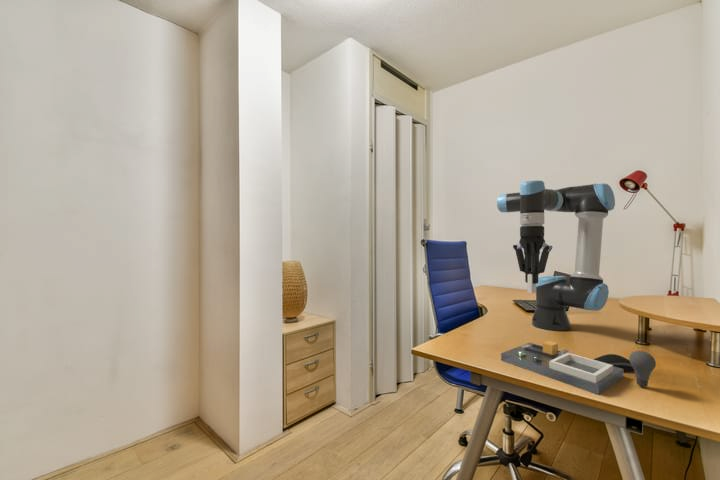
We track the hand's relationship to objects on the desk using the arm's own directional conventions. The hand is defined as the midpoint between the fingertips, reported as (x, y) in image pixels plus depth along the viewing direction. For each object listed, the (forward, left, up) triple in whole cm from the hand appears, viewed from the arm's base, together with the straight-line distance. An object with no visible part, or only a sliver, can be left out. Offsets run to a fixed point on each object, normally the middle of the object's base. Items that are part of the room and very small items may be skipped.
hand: (531, 292), depth 111 cm
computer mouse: (-11, +20, -23) cm, 32 cm away
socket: (+6, +18, -20) cm, 27 cm away
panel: (+4, +11, -22) cm, 25 cm away
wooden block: (0, +6, -20) cm, 21 cm away
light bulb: (-2, +30, -23) cm, 37 cm away
